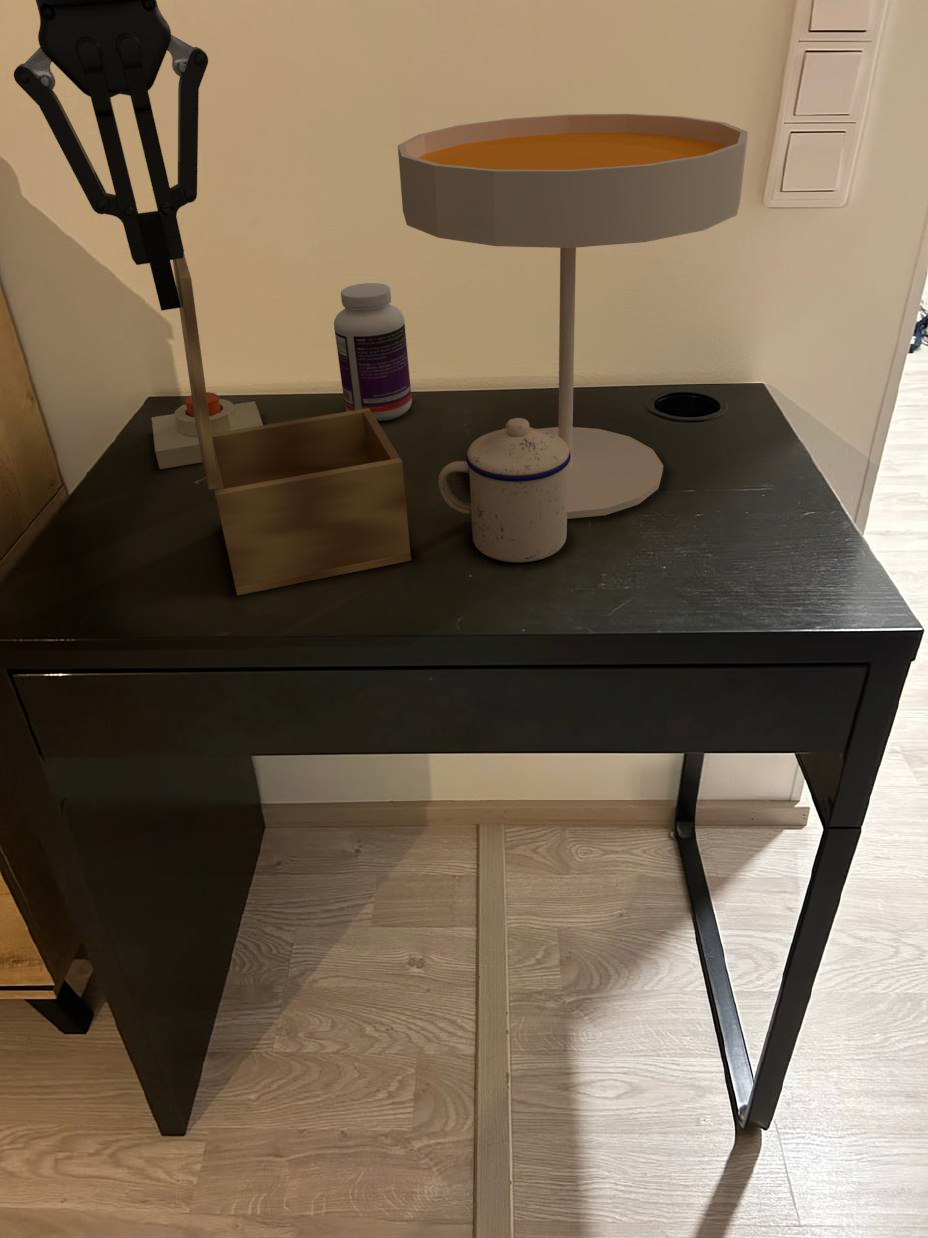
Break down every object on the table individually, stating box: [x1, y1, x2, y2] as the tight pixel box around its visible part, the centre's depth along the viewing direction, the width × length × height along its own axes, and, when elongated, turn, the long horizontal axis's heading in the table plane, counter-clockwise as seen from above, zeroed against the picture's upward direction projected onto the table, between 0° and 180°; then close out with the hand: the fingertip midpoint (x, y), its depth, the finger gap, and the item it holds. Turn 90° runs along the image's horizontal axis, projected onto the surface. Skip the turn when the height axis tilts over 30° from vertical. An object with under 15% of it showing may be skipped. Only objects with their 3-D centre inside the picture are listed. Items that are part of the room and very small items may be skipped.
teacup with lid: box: [437, 417, 571, 563], centre depth 85 cm, size 12×9×12 cm
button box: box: [151, 398, 264, 470], centre depth 108 cm, size 12×10×4 cm
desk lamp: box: [397, 113, 749, 520], centre depth 90 cm, size 30×30×31 cm
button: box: [184, 391, 221, 417], centre depth 107 cm, size 4×4×2 cm
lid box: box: [212, 408, 412, 596], centre depth 86 cm, size 16×13×10 cm
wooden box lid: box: [172, 254, 219, 490], centre depth 77 cm, size 16×13×1 cm
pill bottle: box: [333, 282, 413, 422], centre depth 110 cm, size 8×8×14 cm
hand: (170, 303), depth 74 cm, fingers closed
